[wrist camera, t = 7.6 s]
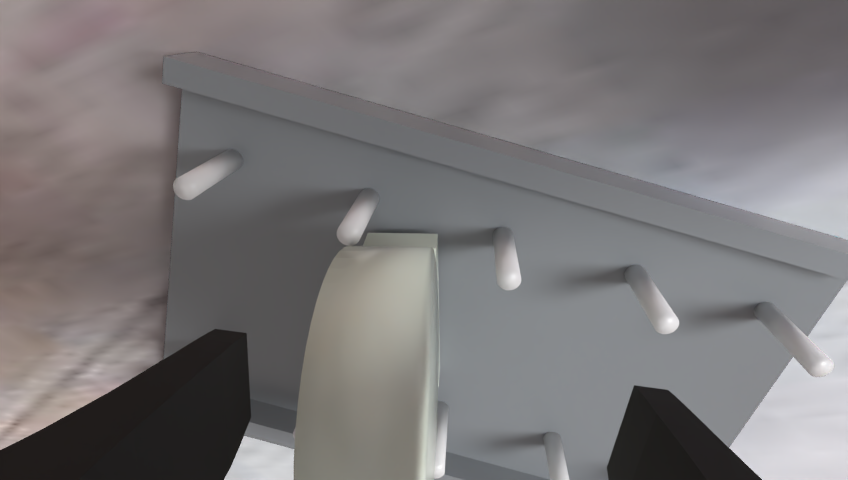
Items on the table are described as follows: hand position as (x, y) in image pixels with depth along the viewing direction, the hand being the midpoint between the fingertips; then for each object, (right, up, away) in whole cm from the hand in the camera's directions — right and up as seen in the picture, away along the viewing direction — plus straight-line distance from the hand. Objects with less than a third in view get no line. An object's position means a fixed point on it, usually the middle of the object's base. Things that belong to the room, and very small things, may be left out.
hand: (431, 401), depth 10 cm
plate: (-1, +1, +9) cm, 9 cm away
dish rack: (+2, 0, +11) cm, 11 cm away
